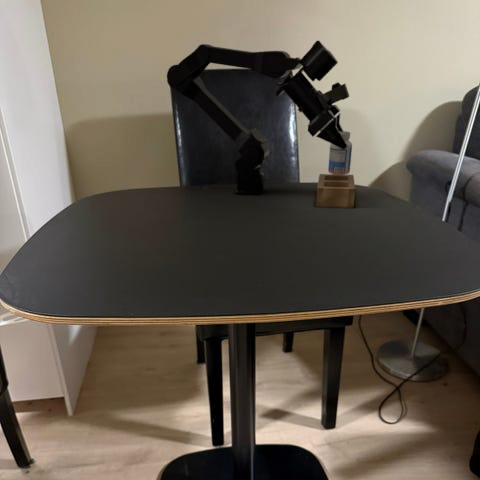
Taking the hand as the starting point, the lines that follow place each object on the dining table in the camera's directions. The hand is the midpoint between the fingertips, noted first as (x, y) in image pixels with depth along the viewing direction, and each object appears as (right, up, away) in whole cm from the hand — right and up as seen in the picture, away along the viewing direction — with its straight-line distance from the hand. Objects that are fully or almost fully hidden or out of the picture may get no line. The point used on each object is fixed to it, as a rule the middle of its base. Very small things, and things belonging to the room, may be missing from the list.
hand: (346, 146), depth 119 cm
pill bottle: (-1, -6, +4) cm, 7 cm away
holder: (-2, -12, +4) cm, 13 cm away
